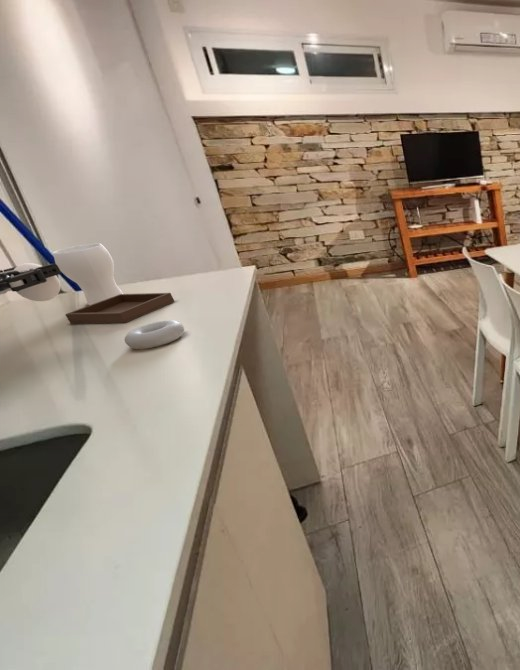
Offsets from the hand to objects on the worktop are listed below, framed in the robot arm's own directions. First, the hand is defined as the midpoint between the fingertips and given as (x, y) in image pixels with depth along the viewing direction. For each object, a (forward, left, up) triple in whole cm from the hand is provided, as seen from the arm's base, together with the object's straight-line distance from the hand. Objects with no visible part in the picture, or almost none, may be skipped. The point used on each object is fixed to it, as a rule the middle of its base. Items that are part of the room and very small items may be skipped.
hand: (42, 269), depth 97 cm
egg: (0, -2, -6) cm, 7 cm away
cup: (-28, +27, -18) cm, 43 cm away
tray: (-12, +18, -17) cm, 28 cm away
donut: (+16, +1, -18) cm, 24 cm away
